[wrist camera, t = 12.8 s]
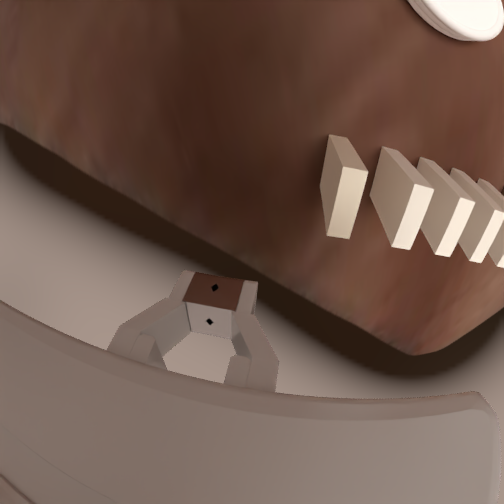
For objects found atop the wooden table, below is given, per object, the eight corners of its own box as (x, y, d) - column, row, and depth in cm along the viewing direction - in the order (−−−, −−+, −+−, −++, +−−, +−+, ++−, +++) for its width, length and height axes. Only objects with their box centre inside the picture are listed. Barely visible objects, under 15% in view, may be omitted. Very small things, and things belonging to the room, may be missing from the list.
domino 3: (405, 203, 24) (434, 254, 17) (419, 156, 20) (460, 197, 14) (418, 206, 23) (449, 257, 17) (433, 161, 20) (475, 202, 14)
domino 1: (319, 185, 24) (326, 235, 18) (328, 134, 21) (343, 166, 15) (336, 188, 24) (349, 239, 18) (346, 137, 21) (368, 171, 15)
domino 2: (369, 195, 24) (391, 246, 18) (382, 146, 21) (414, 183, 15) (384, 198, 24) (409, 249, 18) (397, 150, 21) (434, 189, 14)
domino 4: (436, 210, 23) (469, 260, 17) (452, 167, 20) (495, 209, 14) (447, 213, 23) (481, 263, 17) (463, 171, 20) (506, 213, 14)
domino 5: (463, 218, 23) (496, 266, 17) (479, 177, 20) (521, 220, 14) (472, 220, 23) (505, 268, 17) (488, 181, 20) (529, 223, 13)
